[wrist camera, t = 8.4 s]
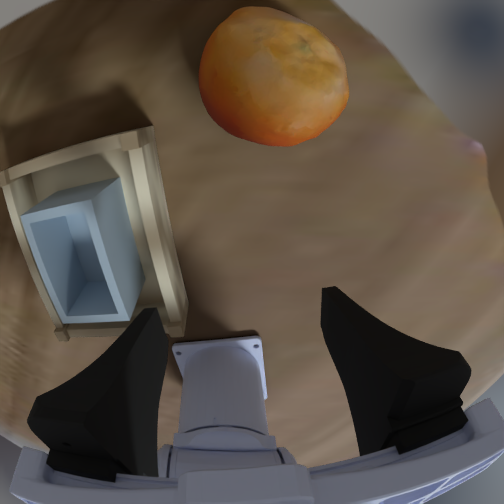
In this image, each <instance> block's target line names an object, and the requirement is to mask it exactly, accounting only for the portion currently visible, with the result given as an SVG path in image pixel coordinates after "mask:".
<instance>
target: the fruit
mask: <svg viewBox="0 0 504 504" xmlns="http://www.w3.org/2000/svg"><path fill="white" fill-rule="evenodd" d="M199 89H200V94H201V97H202V101H203V103H204V106H205V108H206V110H207V112H208V114H209V115H210V116H211V118H212V119H213V120H214V121H215V122H216V123H217V124H218V125H219V126H220V127H222V128H223V129H224V130H225V131H227V132H228V133H230V134H232V135H234V136H236V137H239V138H241V139H245V140H248V141H251V142H255V143H258V144H263V145H268V146H293V145H297V144H299V143H301V142H304V141H306V140H309V139H312V138H315V137H317V136H318V135H319V134H320V133H321V132H323V131H324V130H326V129H327V128H328V127H329V126H330V125H331V124H332V123H333V122H334V121H335V120H336V119H337V118H338V117H339V116H340V114H341V112H342V110H343V109H344V108H345V107H346V104H347V100H348V98H349V87H348V81H347V74H346V65H345V62H344V59H343V57H342V54H341V52H340V49H339V48H338V47H337V46H336V45H335V44H334V43H333V42H331V41H330V40H329V39H328V38H327V37H326V35H324V34H323V33H322V32H321V31H319V30H318V29H317V28H315V27H314V26H312V25H310V24H309V23H307V22H305V21H303V20H301V19H298V18H296V17H294V16H292V15H290V14H287V13H285V12H282V11H279V10H276V9H273V8H270V7H255V6H249V7H243V8H240V9H238V10H236V11H234V12H233V13H232V14H231V15H230V16H229V17H228V18H227V19H226V20H225V21H223V22H222V23H221V24H219V25H218V27H217V28H216V29H215V30H214V32H213V33H212V34H211V36H210V38H209V39H208V41H207V43H206V45H205V48H204V51H203V54H202V57H201V62H200V67H199Z"/></svg>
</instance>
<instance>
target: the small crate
mask: <svg viewBox="0 0 504 504" xmlns="http://www.w3.org/2000/svg"><path fill="white" fill-rule="evenodd" d="M20 217H21V221H22V224H23V227H24V230H25V233H26V236H27V239H28V242H29V245H30V248H31V250H32V253H33V256H34V259H35V261H36V264H37V266H38V269H39V271H40V274H41V276H42V279H43V281H44V284H45V286H46V288H47V291H48V293H49V295H50V297H51V300H52V302H53V304H54V306H55V308H56V310H57V312H58V314H59V317H60V319H61V321H62V323H63V324H64V323H94V322H115V321H130V319H131V316H132V313H133V311H134V308H135V305H136V303H137V300H138V298H139V295H140V292H141V290H142V287H143V285H144V282H145V280H146V279H145V275H144V272H143V268H142V265H141V261H140V258H139V254H138V250H137V246H136V243H135V239H134V235H133V231H132V227H131V223H130V219H129V215H128V210H127V206H126V202H125V197H124V193H123V188H122V183H121V178H120V177H117V178H113V179H108V180H103V181H99V182H94V183H90V184H85V185H81V186H77V187H73V188H68V189H64V190H60V191H57V192H55V193H54V194H52V195H50V196H49V197H47V198H46V199H44V200H43V201H41V202H40V203H38V204H37V205H35V206H34V207H32V208H31V209H29V210H28V211H26V212H25V213H24V214H22V215H21V216H20Z"/></svg>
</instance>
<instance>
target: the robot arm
mask: <svg viewBox="0 0 504 504" xmlns="http://www.w3.org/2000/svg"><path fill="white" fill-rule="evenodd" d="M321 328H322V332H323V335H324V339H325V342H326V345H327V347H328V350H329V352H330V355H331V357H332V359H333V362H334V364H335V366H336V369H337V371H338V373H339V376H340V378H341V381H342V383H343V386H344V389H345V392H346V396H347V399H348V403H349V407H350V411H351V415H352V419H353V423H354V427H355V432H356V437H357V442H358V447H359V453H360V457H356V458H352V459H348V460H344V461H340V462H336V463H331V464H327V465H322V466H317V467H312V468H307V467H306V466H303V465H299V464H297V462H296V460H295V458H294V456H293V455H292V454H291V453H290V452H289V451H288V450H287V449H286V448H284V447H278V448H277V447H276V440H275V436H269V433H268V425H267V418H266V410H265V403H264V400H265V399H266V398H267V390H266V380H265V371H264V361H263V352H262V342H261V338H260V337H259V336H247V337H239V338H229V339H219V340H208V341H197V342H184V343H174V344H173V346H172V351H173V353H174V356H175V359H176V362H177V364H178V367H179V370H180V372H181V375H182V377H183V386H182V396H181V406H180V417H179V428H178V433H174V441H173V446H172V445H169V444H164V445H163V446H162V448H160V449H159V450H158V451H157V424H158V408H159V400H160V395H161V390H162V385H163V380H164V375H165V370H166V364H167V356H168V339H167V336H166V333H165V330H164V327H163V324H162V321H161V318H160V315H159V312H158V309H157V307H153V308H144V309H143V310H142V311H141V312H140V313H139V314H138V316H137V317H136V318H135V319H134V320H133V321H132V323H131V324H130V325H129V326H128V327H127V328H126V330H125V331H124V332H123V333H122V334H121V335H120V337H119V338H118V339H117V340H116V341H115V342H114V343H113V344H112V345H111V346H110V347H109V348H108V349H107V350H106V351H105V352H104V353H103V354H102V355H101V356H100V357H99V358H98V359H96V360H95V361H94V362H93V363H92V364H91V365H89V366H88V367H87V368H85V369H84V370H83V371H81V372H80V373H79V374H77V375H76V376H75V377H73V378H71V379H70V380H68V381H67V382H65V383H63V384H62V385H60V386H58V387H56V388H54V389H52V390H50V391H48V392H46V393H44V394H42V395H40V396H37V398H36V400H35V402H34V404H33V407H32V409H31V411H30V414H29V416H28V419H27V423H28V425H29V427H30V429H31V430H32V431H33V432H34V434H35V435H36V436H37V437H38V438H39V439H40V440H41V441H43V442H44V443H45V444H46V445H47V446H48V447H49V448H50V451H49V455H48V454H46V453H45V452H42V451H40V450H36V449H32V448H29V447H25V446H24V447H23V448H22V451H21V455H20V457H19V460H18V463H17V466H16V470H15V473H14V476H13V480H12V483H11V486H10V490H9V491H10V493H12V494H13V495H15V496H16V497H18V498H20V499H21V500H23V501H24V502H26V503H27V504H422V503H424V502H427V501H429V500H431V499H432V498H435V497H437V496H439V495H441V494H442V493H444V492H446V491H448V490H450V489H452V488H454V487H456V486H457V485H459V484H461V483H463V482H464V481H466V480H468V479H470V478H471V477H473V476H475V475H477V474H478V473H480V472H481V471H483V470H485V469H486V468H487V467H488V466H490V465H491V464H492V463H493V462H494V461H495V460H496V459H497V458H498V457H499V456H500V455H501V454H502V453H504V420H503V418H502V417H501V415H500V413H499V412H498V410H497V409H496V407H495V405H494V404H493V402H492V401H491V399H490V398H487V399H485V400H483V401H481V402H479V403H477V404H475V405H473V406H471V407H469V408H468V409H467V410H466V411H465V412H463V410H462V408H461V406H462V405H463V401H462V399H461V398H460V395H461V393H462V391H463V390H464V388H465V386H466V385H467V383H468V381H469V379H470V376H471V368H470V366H469V364H468V363H467V362H466V360H465V359H464V357H463V356H462V355H461V353H460V352H458V351H454V350H449V349H445V348H441V347H437V346H434V345H431V344H428V343H425V342H422V341H420V340H417V339H415V338H412V337H410V336H408V335H406V334H404V333H401V332H399V331H398V330H396V329H394V328H392V327H390V326H388V325H387V324H385V323H383V322H382V321H380V320H379V319H377V318H376V317H374V316H373V315H371V314H370V313H369V312H367V311H366V310H364V309H363V308H362V307H361V306H359V305H358V304H357V303H355V302H354V301H353V300H352V299H350V298H349V297H348V296H347V295H346V294H344V293H343V292H342V291H341V290H340V289H338V288H337V287H336V286H333V287H327V288H322V302H321ZM255 344H258V345H255Z"/></svg>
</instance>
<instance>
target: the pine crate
mask: <svg viewBox="0 0 504 504" xmlns="http://www.w3.org/2000/svg"><path fill="white" fill-rule="evenodd" d="M117 177H120V178H121V183H122V188H123V193H124V197H125V202H126V206H127V210H128V215H129V219H130V223H131V227H132V231H133V235H134V239H135V243H136V246H137V250H138V254H139V258H140V261H141V265H142V268H143V272H144V275H145V279H146V280H145V282H144V285H143V287H142V290H141V292H140V295H139V298H138V300H137V303H136V305H135V308H134V311H133V313H132V316H131V319H130V321H115V322H94V323H64V324H63V323H62V321H61V319H60V317H59V314H58V312H57V310H56V308H55V306H54V304H53V302H52V300H51V297H50V295H49V293H48V291H47V288H46V286H45V284H44V281H43V279H42V276H41V274H40V271H39V269H38V266H37V264H36V261H35V259H34V256H33V253H32V250H31V248H30V245H29V242H28V239H27V236H26V233H25V230H24V227H23V224H22V221H21V217H20V216H21V215H22V214H24V213H25V212H26V211H28V210H29V209H31V208H32V207H34V206H35V205H37V204H38V203H40V202H41V201H43V200H44V199H46V198H47V197H49V196H50V195H52V194H54V193H55V192H57V191H60V190H64V189H68V188H73V187H77V186H81V185H85V184H90V183H94V182H99V181H103V180H108V179H113V178H117ZM0 187H2V188H3V192H4V196H5V200H6V203H7V207H8V210H9V214H10V217H11V220H12V224H13V227H14V230H15V233H16V236H17V239H18V241H19V244H20V247H21V250H22V253H23V255H24V258H25V260H26V263H27V266H28V268H29V270H30V273H31V275H32V278H33V280H34V282H35V285H36V287H37V289H38V292H39V294H40V296H41V298H42V300H43V302H44V305H45V307H46V309H47V311H48V313H49V315H50V317H51V319H52V321H53V323H54V325H55V327H56V329H55V331H54V333H55V335H56V337H57V338H58V340H59V341H69V339H70V337H107V336H120V335H121V334H122V333H123V332H124V331H125V330H126V328H127V327H128V326H129V325H130V324H131V323H132V321H133V320H134V319H135V318H136V317H137V316H138V314H139V313H140V312H141V311H142V310H143V309H144V308H153V307H157V309H158V312H159V315H160V318H161V321H162V324H163V327H164V330H165V333H169V335H170V337H171V338H173V337H184V333H185V326H186V319H187V313H188V306H189V302H188V298H187V294H186V290H185V286H184V282H183V278H182V274H181V269H180V265H179V261H178V256H177V252H176V247H175V243H174V238H173V233H172V228H171V224H170V219H169V214H168V209H167V204H166V198H165V193H164V188H163V182H162V177H161V171H160V165H159V159H158V153H157V147H156V140H155V134H154V127H153V126H148V127H144V128H139V129H134V130H130V131H125V132H121V133H117V134H113V135H109V136H105V137H101V138H97V139H93V140H90V141H86V142H83V143H79V144H76V145H72V146H69V147H66V148H63V149H59V150H56V151H53V152H50V153H47V154H44V155H41V156H38V157H35V158H33V159H30V160H27V161H24V162H22V163H20V164H17V165H15V166H13V167H10V168H8V169H6V170H3V171H1V172H0Z"/></svg>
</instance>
